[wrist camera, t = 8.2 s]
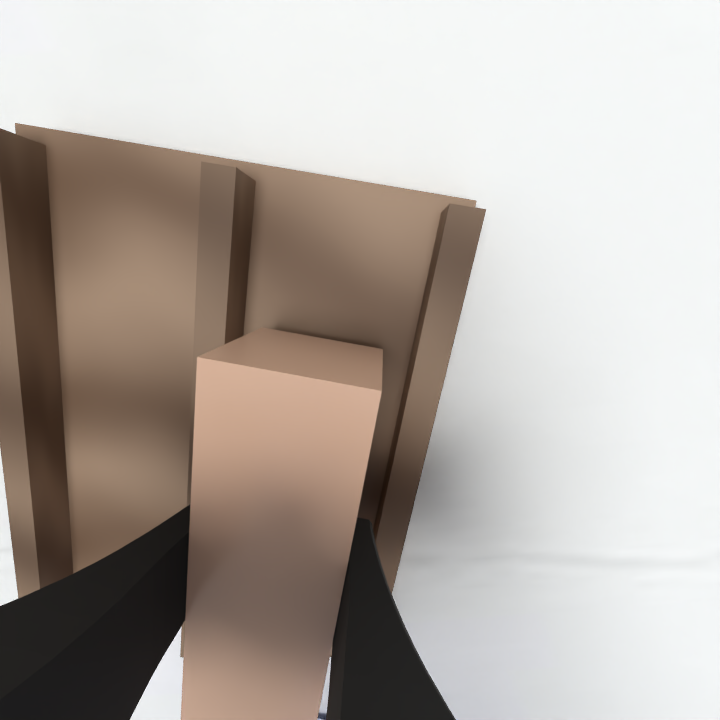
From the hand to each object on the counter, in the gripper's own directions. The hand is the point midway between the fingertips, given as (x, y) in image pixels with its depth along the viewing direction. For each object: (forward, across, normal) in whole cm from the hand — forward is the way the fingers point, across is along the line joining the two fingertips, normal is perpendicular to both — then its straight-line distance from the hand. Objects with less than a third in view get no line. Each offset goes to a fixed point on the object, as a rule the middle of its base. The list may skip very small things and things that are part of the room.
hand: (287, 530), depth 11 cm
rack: (+4, +4, -1) cm, 5 cm away
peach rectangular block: (+2, 0, 0) cm, 2 cm away
